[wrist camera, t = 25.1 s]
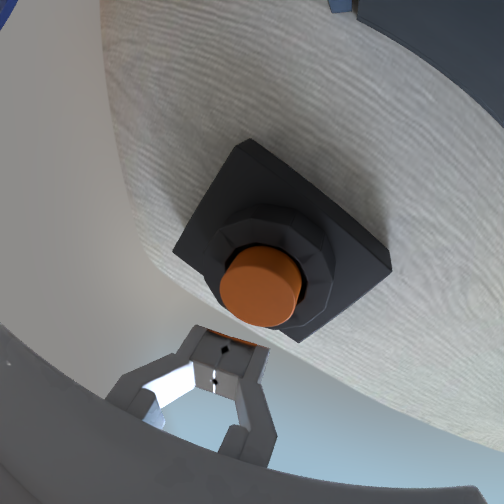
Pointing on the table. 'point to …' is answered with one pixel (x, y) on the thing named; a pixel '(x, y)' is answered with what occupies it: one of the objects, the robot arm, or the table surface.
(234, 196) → the button box
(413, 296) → the table surface
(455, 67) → the cupboard
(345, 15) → the table surface
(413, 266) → the table surface
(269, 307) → the button
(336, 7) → the door
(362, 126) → the table surface
